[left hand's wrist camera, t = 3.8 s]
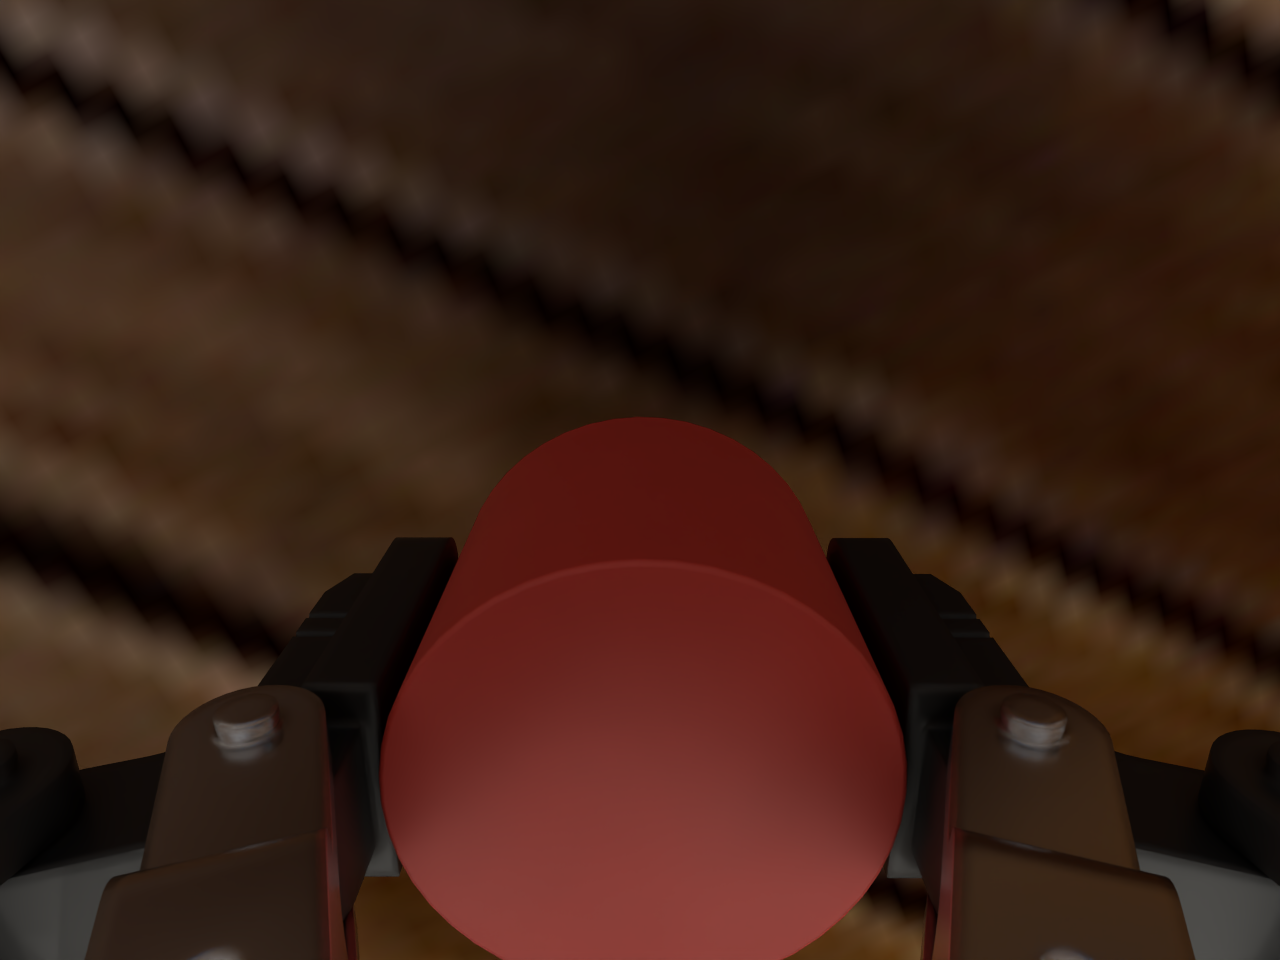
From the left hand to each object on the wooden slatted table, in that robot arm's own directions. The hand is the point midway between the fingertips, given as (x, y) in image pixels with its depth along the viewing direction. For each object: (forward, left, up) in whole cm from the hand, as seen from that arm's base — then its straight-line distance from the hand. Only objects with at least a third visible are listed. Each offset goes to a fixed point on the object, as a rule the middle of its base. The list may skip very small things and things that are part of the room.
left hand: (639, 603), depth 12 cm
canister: (0, 0, -1) cm, 1 cm away
